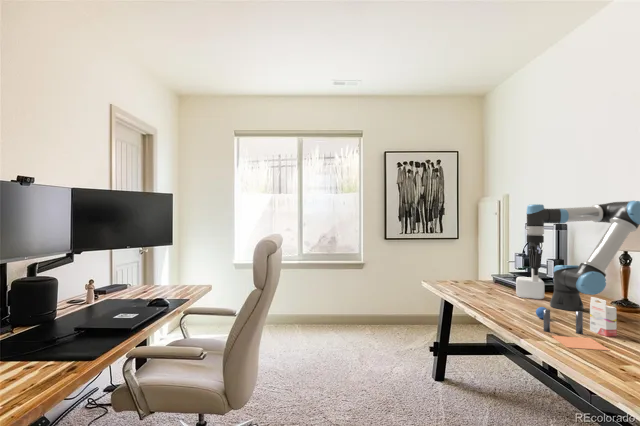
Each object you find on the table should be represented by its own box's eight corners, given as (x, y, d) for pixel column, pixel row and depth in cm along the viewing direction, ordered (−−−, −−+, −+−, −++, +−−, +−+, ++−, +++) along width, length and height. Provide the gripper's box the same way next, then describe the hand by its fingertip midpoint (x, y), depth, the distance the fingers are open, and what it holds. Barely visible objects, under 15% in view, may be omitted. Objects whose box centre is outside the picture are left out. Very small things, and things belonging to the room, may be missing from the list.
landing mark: (590, 338, 149) (590, 338, 149) (610, 350, 135) (610, 350, 135) (551, 336, 151) (551, 335, 151) (567, 347, 138) (567, 347, 138)
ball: (546, 317, 181) (546, 306, 181) (551, 320, 175) (551, 308, 175) (534, 316, 182) (534, 305, 182) (538, 319, 176) (538, 308, 176)
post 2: (581, 332, 157) (581, 311, 157) (583, 334, 154) (583, 312, 154) (574, 332, 157) (574, 310, 157) (577, 333, 155) (577, 312, 155)
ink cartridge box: (617, 336, 152) (617, 300, 152) (606, 336, 151) (606, 300, 151) (600, 330, 160) (600, 296, 160) (589, 330, 160) (589, 296, 160)
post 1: (548, 330, 159) (548, 309, 159) (551, 332, 157) (551, 310, 157) (542, 330, 159) (542, 309, 160) (544, 331, 157) (544, 310, 157)
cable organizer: (543, 297, 229) (543, 278, 229) (544, 300, 220) (544, 280, 220) (516, 294, 236) (516, 276, 236) (515, 297, 227) (515, 278, 227)
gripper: (522, 234, 195) (522, 279, 195) (531, 235, 183) (531, 283, 182) (538, 234, 194) (538, 279, 194) (548, 235, 181) (548, 284, 181)
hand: (534, 281), depth 188 cm, fingers closed
